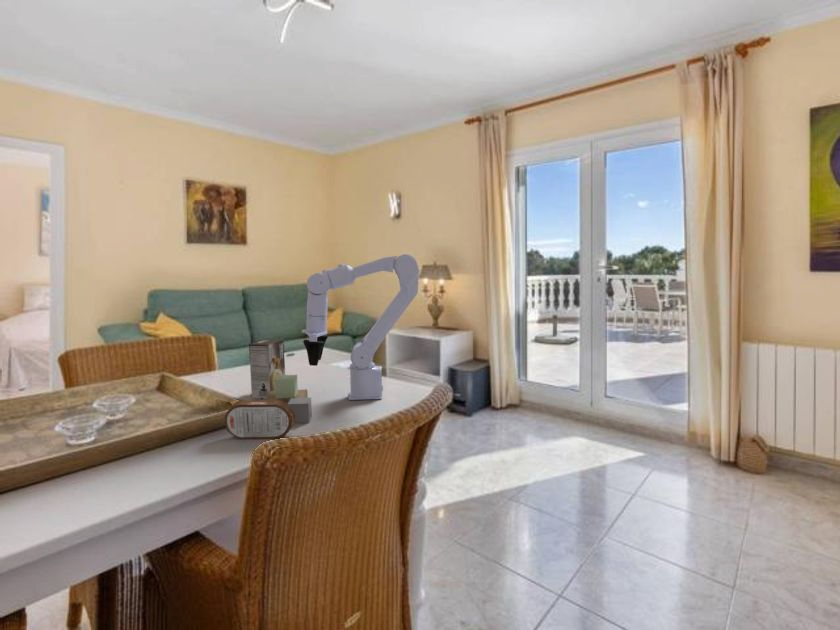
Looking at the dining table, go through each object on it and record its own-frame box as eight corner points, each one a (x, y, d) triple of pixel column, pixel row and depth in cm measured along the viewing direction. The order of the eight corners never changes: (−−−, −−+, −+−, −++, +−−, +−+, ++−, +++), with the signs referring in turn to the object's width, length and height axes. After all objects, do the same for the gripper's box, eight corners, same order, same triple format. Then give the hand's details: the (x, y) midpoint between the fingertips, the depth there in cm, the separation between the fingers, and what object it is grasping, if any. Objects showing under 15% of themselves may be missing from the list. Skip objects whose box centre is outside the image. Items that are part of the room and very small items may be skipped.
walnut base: (307, 403, 130) (307, 389, 129) (304, 414, 120) (304, 399, 119) (271, 405, 128) (270, 391, 128) (264, 416, 118) (264, 401, 118)
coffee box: (267, 389, 142) (265, 338, 140) (286, 390, 141) (284, 339, 139) (250, 398, 133) (248, 343, 131) (271, 399, 132) (268, 344, 130)
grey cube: (311, 416, 117) (311, 397, 117) (309, 423, 112) (308, 403, 112) (291, 417, 117) (291, 398, 116) (288, 424, 112) (287, 404, 111)
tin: (295, 434, 105) (294, 398, 104) (292, 439, 102) (291, 402, 101) (229, 435, 104) (227, 399, 103) (223, 441, 101) (221, 403, 100)
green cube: (297, 392, 126) (297, 374, 126) (294, 397, 121) (294, 379, 121) (279, 393, 126) (278, 375, 125) (275, 398, 121) (274, 379, 120)
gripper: (306, 312, 138) (305, 356, 139) (298, 317, 123) (296, 367, 125) (330, 313, 138) (328, 357, 140) (325, 319, 124) (323, 368, 125)
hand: (315, 362), depth 132 cm, fingers open, 7 cm apart
